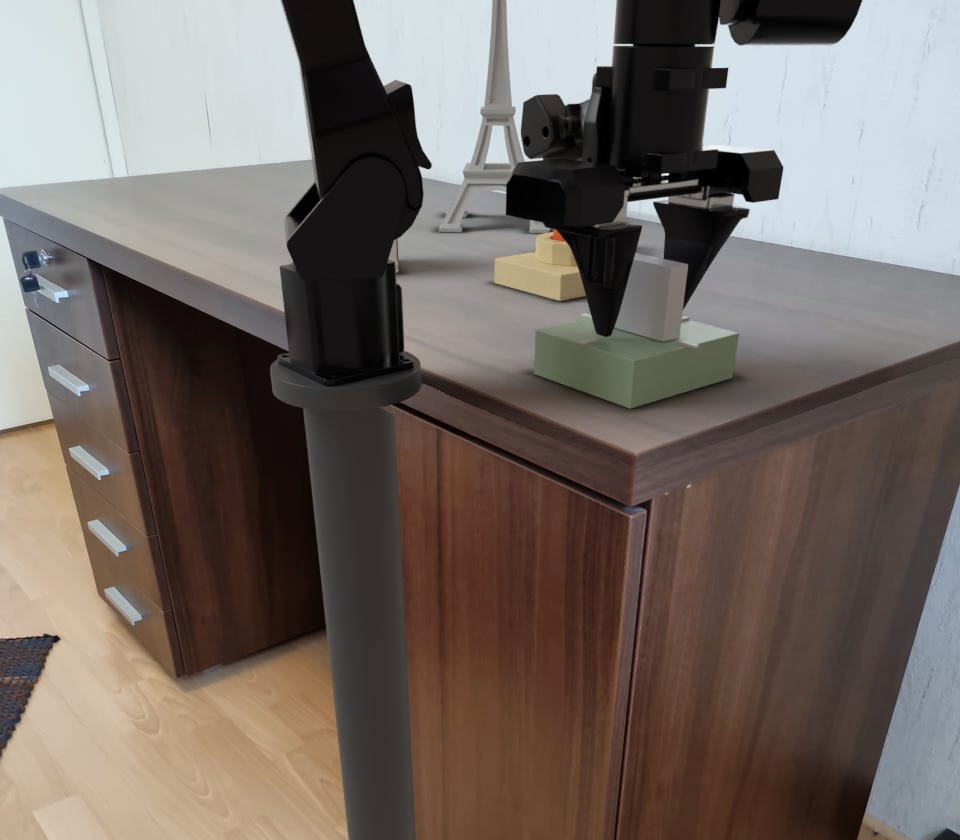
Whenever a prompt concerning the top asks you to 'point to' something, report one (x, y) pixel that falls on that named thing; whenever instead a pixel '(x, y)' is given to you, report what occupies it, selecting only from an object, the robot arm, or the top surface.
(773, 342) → the top surface
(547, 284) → the switch
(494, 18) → the eiffel tower
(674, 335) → the white square block
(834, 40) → the robot arm
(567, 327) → the panel
